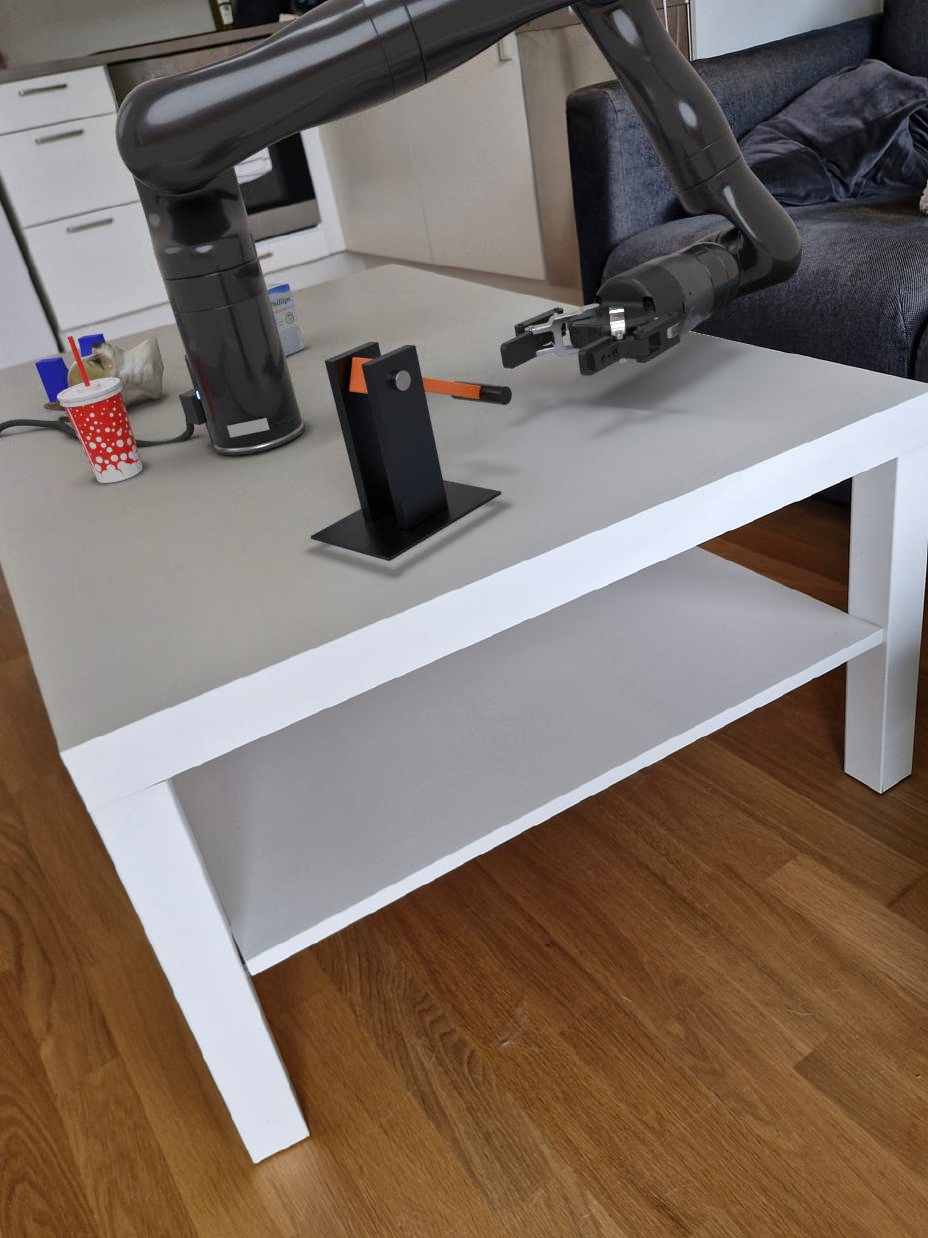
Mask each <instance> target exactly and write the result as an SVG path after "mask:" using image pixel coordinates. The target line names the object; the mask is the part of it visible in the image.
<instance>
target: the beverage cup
mask: <svg viewBox="0 0 928 1238" xmlns="http://www.w3.org/2000/svg"><path fill="white" fill-rule="evenodd" d="M67 340H68V343H69V346H70V349H71V352H72V354H73V356H74V359H75V361H76V362H77V365H78V368H79V370H80V373H81V376H82V378H83V381H84V383H81V384H78V385H75V386H72V387H70V388H68V389H65V390H63V391H62V392H61V393H59V394H58V396H57V399H58V400H59V401H60V405H61V406H63V407H64V408H65V410H66V411H65V413H66V412H67V415H68V417H69V419H70V421H71V422H70V423H71V425H72V429H74V430H75V432H76V434H77V437H78V438H77V440H78V441H79V443H80V445H81V447H82V449H83V452H84V455H85V457H86V458H87V459H86V460H87V461H88V464H89V466H90V467H91V470H92V472H93V475H94V477H95V478H96V481H97V482H99V483H100V484H111V483H118V482H121V481H125V480H127V479H130V478H133V477H134V476H136V475H137V474H139V473H140V472H142V471H143V467H144V466H143V463H142V460H141V456H140V453H139V449H138V447H137V445H136V442H135V440H136V439H135V436H134V431H133V428H132V425H131V421H130V418H129V414H128V410H127V407H125V403H124V400H123V396H122V393H121V390H122V385H121V380H120V379H118V378H101V379H96V380H91V381H89V380H88V377H87V375H86V372H85V369H84V366H83V364H82V361H81V354H80V353H79V350H78V348H77V345H76V341H75V339H74V336H73V335H69V336H67Z"/></svg>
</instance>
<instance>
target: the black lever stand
mask: <svg viewBox="0 0 928 1238" xmlns="http://www.w3.org/2000/svg"><path fill="white" fill-rule="evenodd" d="M380 348H381V347H380V344H379V342H378V341H368V342H365V343H362V344H360V345H358V346H355V347H354V348H353V347H352V348H350V349H349V350H346V351H343V352H341V353H339V354H337V355H334V356H332V357H329V358H328V359H325V360H324V364H325V369H326V373H327V376H328V377H327V378H328V380H329V386H330V389H331V393H332V396H333V401H334V405H335V410H336V413H337V417H338V421H339V424H340V429H341V433H342V436H343V441H344V446H345V450H346V452H347V456H348V461H349V466H350V469H351V474H352V477H353V482H354V485H355V489H356V493H357V497H358V501H359V506H360V508H359V509H357V510H356V511H354V512H352V513H350V514H348V515H346V516H345V517H343V518H341V519H339V520H338V521H335V522H334V523H331V524H330V525H328V526H326V527H324V528H323V529H321V530H319V531H317V532H316V533H314V534H312V535H310V539H311V540H314V541H317V542H321V543H324V544H327V545H331V546H334V547H338V548H341V549H345V550H349V551H353V552H355V553H359V554H363V555H367V556H370V557H373V558H376V559H380V560H383V561H387V562H391V561H392V560H394V559H396V558H397V557H399V556H400V555H403V554H404V553H405V552H408V551H409V550H411V549H412V548H414V547H416V546H417V545H420V544H421V543H422V542H424V541H426V540H428V539H429V538H431V537H433V536H434V535H436V534H437V533H439V532H441V531H442V530H444V529H446V528H448V527H449V526H451V525H452V524H454V523H456V522H457V521H460V520H461V519H462V518H465V516H467V515H469V514H470V513H473V512H474V511H475V510H476V511H477V509H479V508H481V507H482V506H485V505H486V504H487V503H489V502H490V501H493V500H494V499H496V498H497V497H499V496H501V495H502V491H501V490H496V489H492V488H486V487H481V486H475V485H470V484H467V483H461V482H456V481H450V480H445V479H444V477H443V472H442V468H441V463H440V458H439V453H438V449H437V444H436V439H435V434H434V428H433V424H432V420H431V414H430V409H429V405H428V399H427V394H426V392H425V389H424V385H423V380H422V377H423V375H422V370H421V366H420V361H419V355H418V350H417V345H415V344H404V345H402V346H400V347H398V348H395V349H393V350H391V351H388V352H386V353H383V354H382V352H381V349H380ZM353 357H357V358H368V359H372V360H370V361H368V362H366V363H363V364H362V365H361V366H362V370H363V374H364V379H365V383H366V387H367V392H368V394H365V393H357V392H350V391H349V389H350V379H351V369H352V359H353Z"/></svg>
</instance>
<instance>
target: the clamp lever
mask: <svg viewBox="0 0 928 1238" xmlns="http://www.w3.org/2000/svg"><path fill="white" fill-rule="evenodd" d="M370 360H372V359H368V358H357V357H353V359H352V369H351V379H350V389H349V391H350V392H357V393H365V394H368V392H367V387H366V383H365V379H364V374H363V370H362V366H361V365H362V364H363V363H366V362H368V361H370ZM422 380H423V385H424V389H425V393H429V394H439V395H444V396H450V397H451V398H452V399H453V400H458V401H468V402H474V403H475V402H476V403H483V404H491V405H499V406H507V405H509V404H510V402H511V401H512V398H513V392H512V389H511V387H509V386H508V385H498V384H491V383H489V384H488V383H481V382H480V383H479V382H471V381H462V380H461V381H460V380H455V381H450V380H444V379H437V378H430V377H424V376H422Z"/></svg>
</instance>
